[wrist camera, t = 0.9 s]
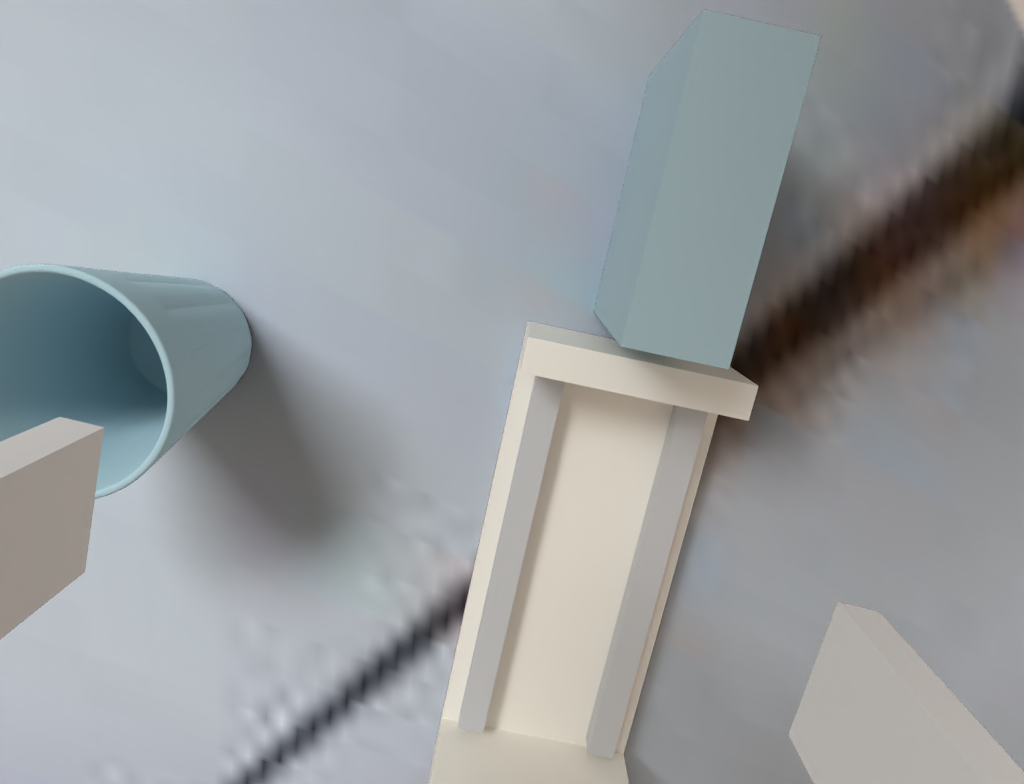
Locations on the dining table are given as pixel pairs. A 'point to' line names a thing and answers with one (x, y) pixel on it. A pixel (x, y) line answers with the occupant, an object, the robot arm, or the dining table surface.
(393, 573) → the dining table surface
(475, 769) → the track board
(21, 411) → the cup
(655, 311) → the door panel
